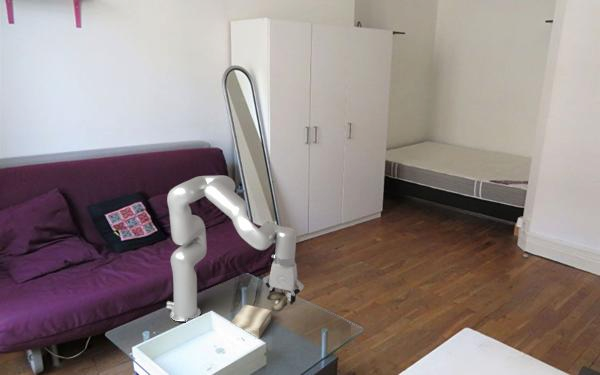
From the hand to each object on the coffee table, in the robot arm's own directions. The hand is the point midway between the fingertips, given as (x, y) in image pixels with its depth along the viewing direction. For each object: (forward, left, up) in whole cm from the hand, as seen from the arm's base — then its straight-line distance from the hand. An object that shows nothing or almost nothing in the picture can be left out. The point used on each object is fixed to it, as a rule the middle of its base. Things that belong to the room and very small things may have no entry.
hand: (282, 300), depth 182 cm
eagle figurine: (-1, -1, -2) cm, 2 cm away
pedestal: (-14, +4, -18) cm, 23 cm away
